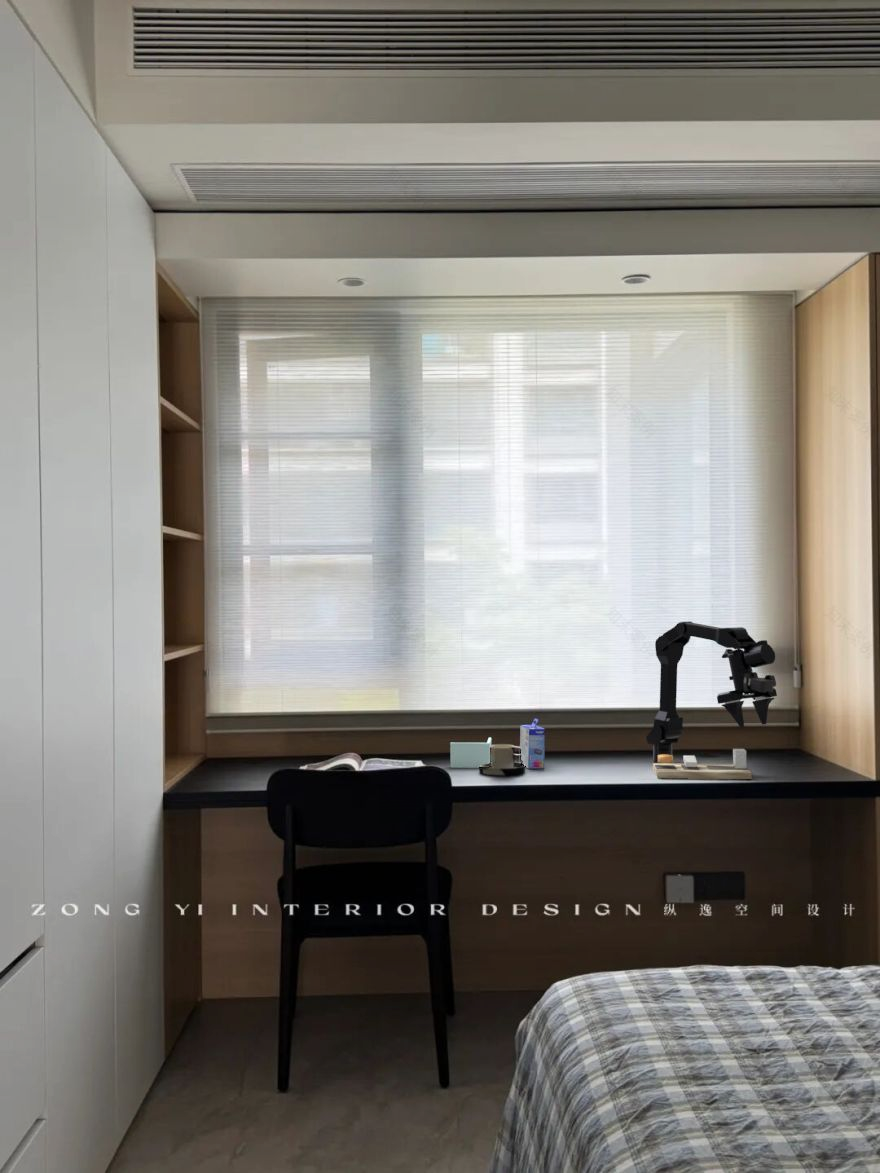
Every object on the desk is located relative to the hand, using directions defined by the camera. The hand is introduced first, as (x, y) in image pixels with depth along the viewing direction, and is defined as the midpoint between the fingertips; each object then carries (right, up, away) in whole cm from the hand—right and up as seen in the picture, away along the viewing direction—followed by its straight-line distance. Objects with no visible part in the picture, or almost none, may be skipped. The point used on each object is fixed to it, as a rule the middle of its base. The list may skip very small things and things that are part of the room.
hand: (753, 725), depth 272 cm
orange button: (-22, -12, +11) cm, 28 cm away
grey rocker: (-15, -12, +10) cm, 22 cm away
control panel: (-12, -16, +10) cm, 22 cm away
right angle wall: (-78, -17, +30) cm, 85 cm away
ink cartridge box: (-59, -16, +26) cm, 67 cm away
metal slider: (-1, -13, +9) cm, 16 cm away
